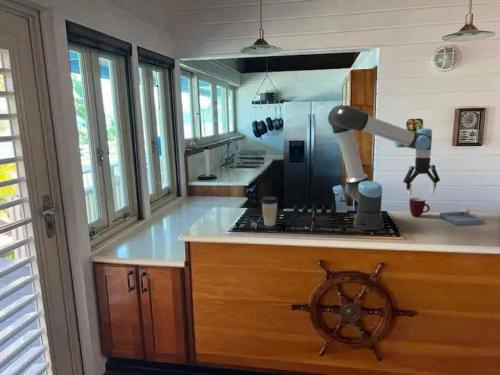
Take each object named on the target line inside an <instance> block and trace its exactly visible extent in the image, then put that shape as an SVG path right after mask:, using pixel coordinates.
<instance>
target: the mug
mask: <svg viewBox="0 0 500 375" xmlns="http://www.w3.org/2000/svg"><path fill="white" fill-rule="evenodd" d="M408 204H409V211H410V214H411V216H412V217H414V218H420V217H421V216H422V214H425V213H428V212H429V211H430V209H431V208H430V205H429V204H427V203H426V199H425V198H422V197H410V198H409V203H408ZM425 207H427V210H425ZM424 210H425V211H424Z"/></svg>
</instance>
